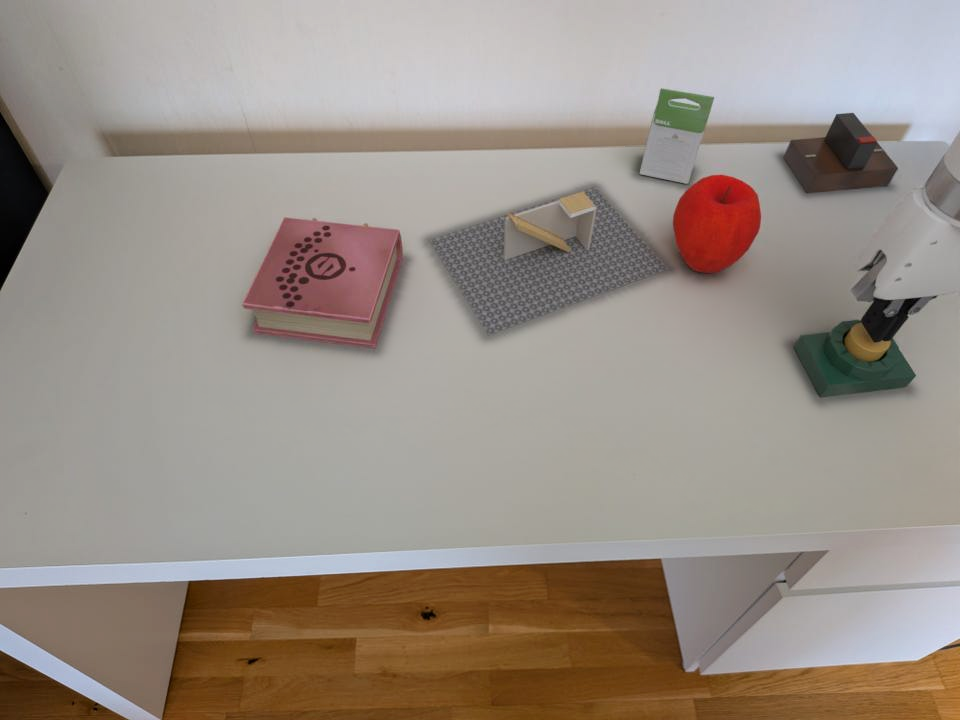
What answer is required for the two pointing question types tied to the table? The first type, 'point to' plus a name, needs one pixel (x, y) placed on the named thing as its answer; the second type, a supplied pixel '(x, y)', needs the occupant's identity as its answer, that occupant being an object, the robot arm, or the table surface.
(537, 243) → the model
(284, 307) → the book
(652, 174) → the ink box
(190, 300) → the table surface
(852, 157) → the lock knob
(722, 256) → the apple
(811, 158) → the plate
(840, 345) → the box
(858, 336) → the button
